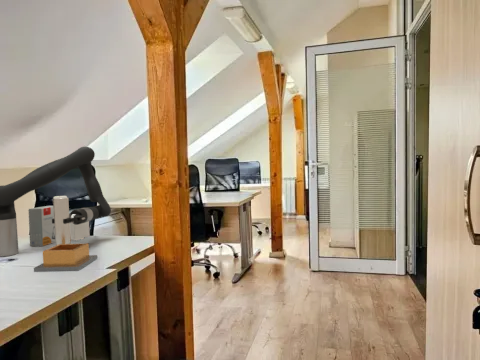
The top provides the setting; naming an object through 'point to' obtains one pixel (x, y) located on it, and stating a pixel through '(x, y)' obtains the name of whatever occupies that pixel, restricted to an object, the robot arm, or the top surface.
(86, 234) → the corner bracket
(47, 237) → the hard drive box
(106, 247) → the top surface
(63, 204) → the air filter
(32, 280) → the top surface
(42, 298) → the top surface
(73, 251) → the dock
